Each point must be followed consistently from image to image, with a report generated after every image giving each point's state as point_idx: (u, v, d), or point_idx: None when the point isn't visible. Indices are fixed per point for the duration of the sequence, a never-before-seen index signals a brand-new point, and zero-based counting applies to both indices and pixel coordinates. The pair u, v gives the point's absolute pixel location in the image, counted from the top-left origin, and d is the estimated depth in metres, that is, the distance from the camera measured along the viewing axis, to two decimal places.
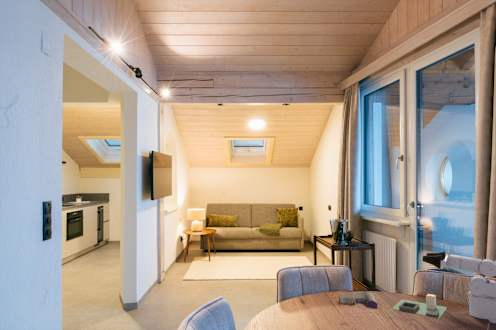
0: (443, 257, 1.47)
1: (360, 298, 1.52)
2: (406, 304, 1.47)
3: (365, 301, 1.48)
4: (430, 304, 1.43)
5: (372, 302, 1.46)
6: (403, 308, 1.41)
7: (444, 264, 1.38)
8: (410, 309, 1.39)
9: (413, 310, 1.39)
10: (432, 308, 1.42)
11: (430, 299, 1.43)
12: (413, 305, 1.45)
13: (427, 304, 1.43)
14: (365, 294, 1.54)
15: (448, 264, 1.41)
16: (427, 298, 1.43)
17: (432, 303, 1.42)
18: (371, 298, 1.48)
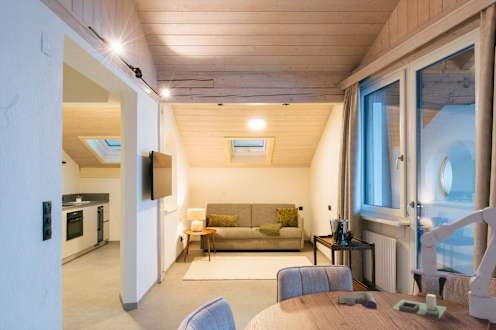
0: (420, 276, 1.47)
1: (359, 298, 1.52)
2: (406, 304, 1.47)
3: (364, 301, 1.48)
4: (430, 304, 1.43)
5: (372, 302, 1.45)
6: (403, 308, 1.41)
7: (449, 275, 1.41)
8: (410, 309, 1.39)
9: (413, 310, 1.39)
10: (432, 308, 1.42)
11: (430, 299, 1.43)
12: (413, 305, 1.45)
13: (427, 304, 1.43)
14: (364, 294, 1.53)
15: None
16: (427, 298, 1.43)
17: (432, 303, 1.42)
18: (370, 298, 1.48)
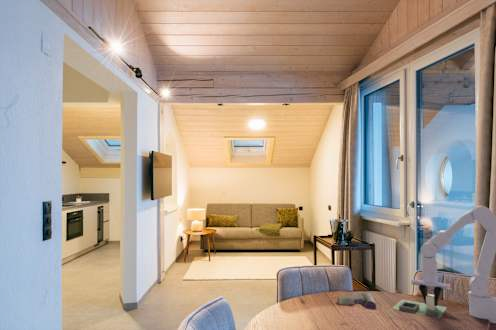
0: (426, 287, 1.46)
1: (359, 299, 1.51)
2: (406, 304, 1.47)
3: (364, 302, 1.47)
4: (430, 304, 1.43)
5: (371, 302, 1.45)
6: (403, 308, 1.41)
7: None
8: (410, 309, 1.39)
9: (413, 310, 1.39)
10: (432, 308, 1.42)
11: (430, 299, 1.43)
12: (413, 305, 1.45)
13: (427, 304, 1.43)
14: (364, 295, 1.53)
15: (437, 282, 1.44)
16: (427, 298, 1.43)
17: (432, 303, 1.42)
18: (370, 299, 1.47)
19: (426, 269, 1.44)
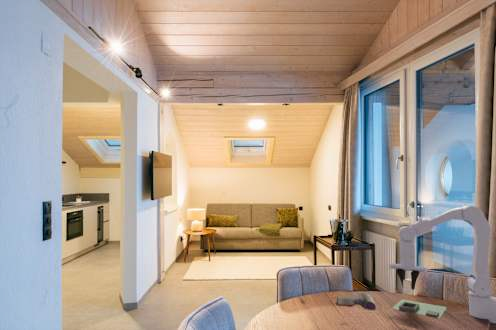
0: (403, 271, 1.45)
1: (358, 299, 1.51)
2: (406, 304, 1.47)
3: (363, 302, 1.47)
4: (407, 288, 1.42)
5: (370, 303, 1.44)
6: (403, 308, 1.41)
7: (426, 269, 1.40)
8: (410, 309, 1.39)
9: (413, 310, 1.39)
10: (409, 292, 1.41)
11: (407, 283, 1.42)
12: (413, 305, 1.45)
13: (404, 288, 1.43)
14: (363, 295, 1.52)
15: None
16: (404, 282, 1.43)
17: (409, 287, 1.41)
18: (369, 299, 1.47)
19: (405, 253, 1.43)
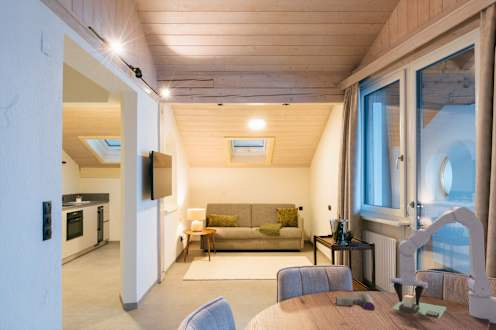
0: (400, 285, 1.45)
1: (357, 299, 1.50)
2: None
3: (362, 302, 1.46)
4: (407, 305, 1.41)
5: (369, 303, 1.44)
6: (403, 308, 1.41)
7: (427, 284, 1.40)
8: (410, 309, 1.39)
9: (413, 310, 1.39)
10: None
11: (407, 300, 1.41)
12: None
13: (405, 305, 1.42)
14: (363, 295, 1.52)
15: (415, 280, 1.43)
16: (405, 299, 1.42)
17: (410, 304, 1.41)
18: (368, 299, 1.46)
19: (405, 267, 1.42)
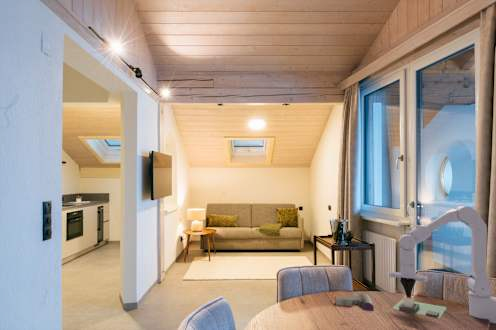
0: None
1: (356, 300, 1.50)
2: None
3: (361, 303, 1.45)
4: (407, 305, 1.41)
5: (368, 304, 1.43)
6: (403, 308, 1.41)
7: None
8: (410, 309, 1.39)
9: (413, 310, 1.39)
10: None
11: (407, 300, 1.41)
12: None
13: (405, 305, 1.42)
14: (362, 296, 1.51)
15: (415, 274, 1.43)
16: (405, 299, 1.42)
17: (410, 304, 1.41)
18: (367, 300, 1.45)
19: (405, 261, 1.42)
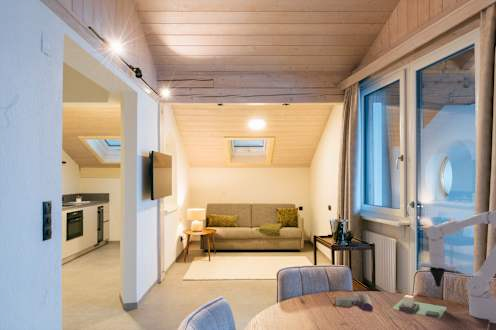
0: (436, 270, 1.48)
1: (356, 300, 1.49)
2: None
3: (360, 303, 1.45)
4: (407, 305, 1.41)
5: (367, 304, 1.42)
6: (403, 308, 1.41)
7: (456, 267, 1.44)
8: (410, 309, 1.39)
9: (413, 310, 1.39)
10: None
11: (407, 300, 1.41)
12: None
13: (405, 305, 1.42)
14: (361, 296, 1.51)
15: (444, 264, 1.47)
16: (405, 299, 1.42)
17: (410, 304, 1.41)
18: (367, 300, 1.45)
19: (431, 251, 1.48)
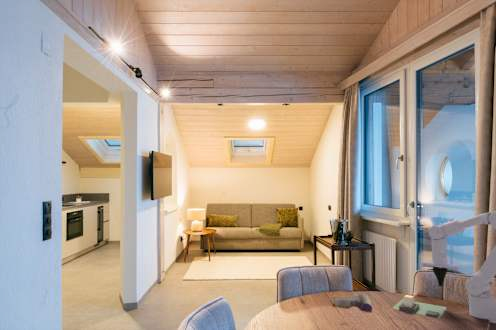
0: (439, 270, 1.48)
1: (355, 301, 1.49)
2: None
3: (360, 304, 1.45)
4: (407, 305, 1.41)
5: (367, 304, 1.42)
6: (403, 308, 1.41)
7: (459, 267, 1.44)
8: (410, 309, 1.39)
9: (413, 310, 1.39)
10: None
11: (407, 300, 1.41)
12: None
13: (405, 305, 1.42)
14: (361, 297, 1.50)
15: (447, 263, 1.47)
16: (405, 299, 1.42)
17: (410, 304, 1.41)
18: (366, 301, 1.44)
19: (434, 250, 1.48)
